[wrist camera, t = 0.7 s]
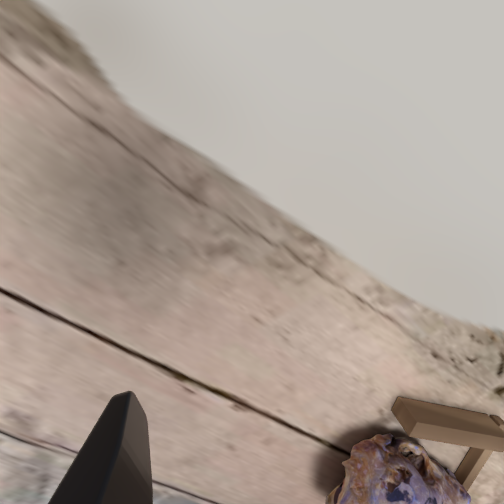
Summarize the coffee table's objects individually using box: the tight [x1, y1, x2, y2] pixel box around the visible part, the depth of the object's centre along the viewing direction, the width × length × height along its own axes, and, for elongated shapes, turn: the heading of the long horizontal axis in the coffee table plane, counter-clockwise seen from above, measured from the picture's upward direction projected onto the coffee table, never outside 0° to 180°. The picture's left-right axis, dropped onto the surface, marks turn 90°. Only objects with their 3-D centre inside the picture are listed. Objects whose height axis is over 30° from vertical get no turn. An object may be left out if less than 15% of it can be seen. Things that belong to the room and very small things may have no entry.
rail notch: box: [391, 397, 504, 491], centre depth 32 cm, size 13×9×2 cm
